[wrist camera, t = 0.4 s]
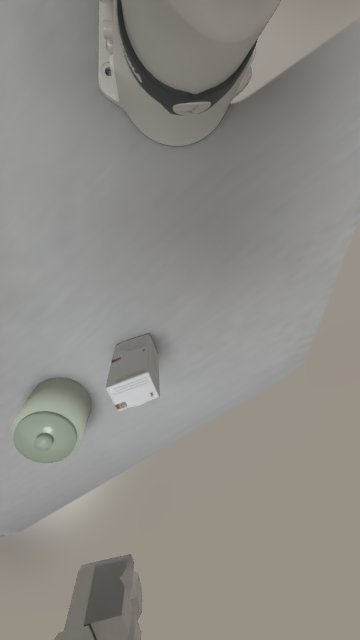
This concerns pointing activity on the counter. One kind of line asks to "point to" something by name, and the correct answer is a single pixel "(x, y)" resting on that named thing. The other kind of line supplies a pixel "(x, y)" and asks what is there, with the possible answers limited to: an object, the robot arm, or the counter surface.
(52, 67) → the counter surface
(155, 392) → the skincare box
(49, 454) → the sage canister
